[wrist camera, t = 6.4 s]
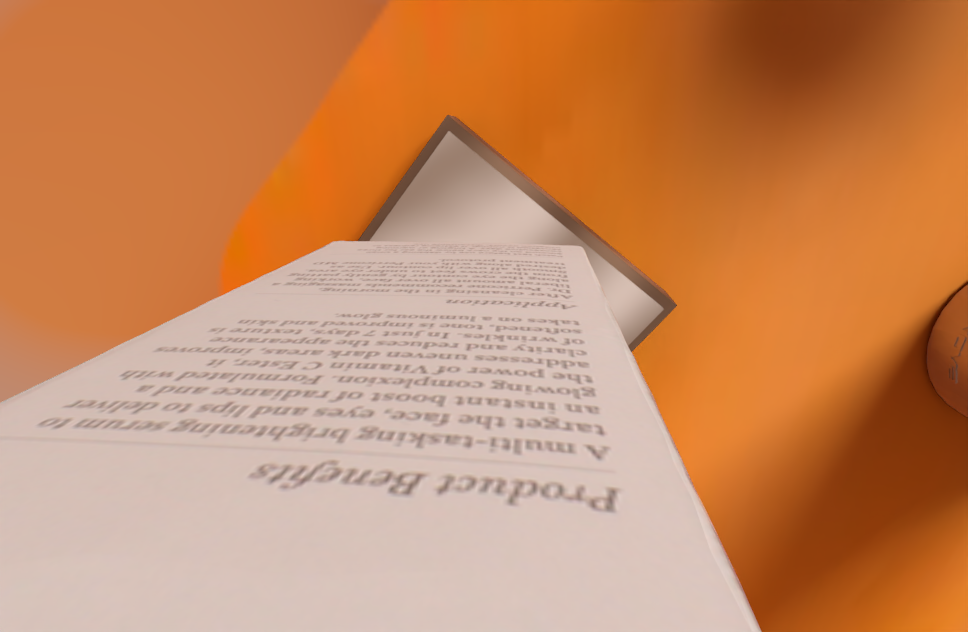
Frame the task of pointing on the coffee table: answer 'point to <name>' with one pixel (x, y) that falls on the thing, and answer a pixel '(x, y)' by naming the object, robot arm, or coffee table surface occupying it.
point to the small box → (363, 463)
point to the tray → (506, 220)
